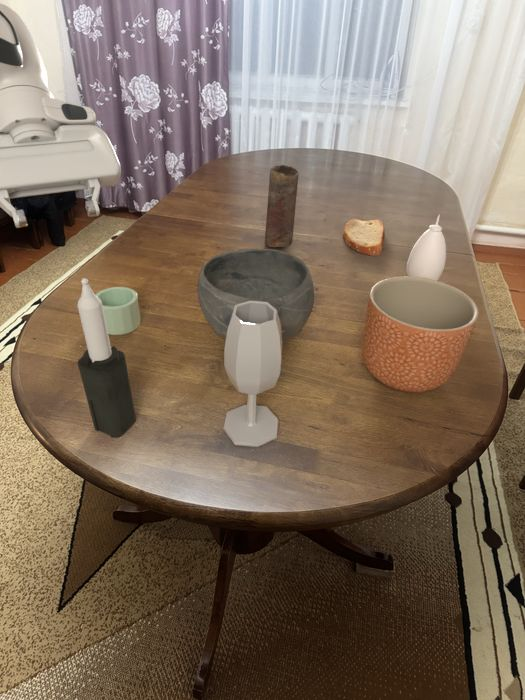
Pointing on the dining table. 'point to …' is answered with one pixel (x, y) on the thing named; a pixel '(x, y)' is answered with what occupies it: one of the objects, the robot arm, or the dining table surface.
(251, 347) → the wineglass
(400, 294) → the planter
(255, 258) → the bowl
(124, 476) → the dining table surface
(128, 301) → the holder
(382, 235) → the slice of bread
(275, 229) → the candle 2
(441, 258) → the sauce bottle
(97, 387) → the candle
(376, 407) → the dining table surface
